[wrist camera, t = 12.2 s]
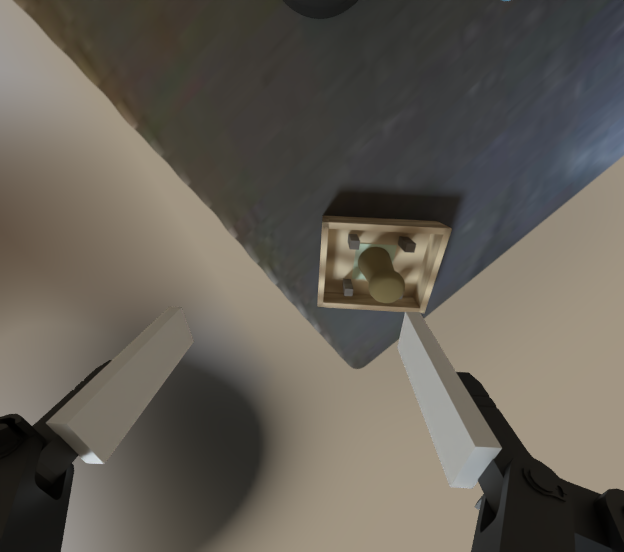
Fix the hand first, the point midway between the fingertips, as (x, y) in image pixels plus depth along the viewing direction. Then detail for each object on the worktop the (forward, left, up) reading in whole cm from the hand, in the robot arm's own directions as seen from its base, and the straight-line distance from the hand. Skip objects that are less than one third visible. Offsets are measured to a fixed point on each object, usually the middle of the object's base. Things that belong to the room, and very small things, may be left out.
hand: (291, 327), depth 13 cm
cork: (+7, +12, -28) cm, 31 cm away
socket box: (+7, +12, -29) cm, 32 cm away
